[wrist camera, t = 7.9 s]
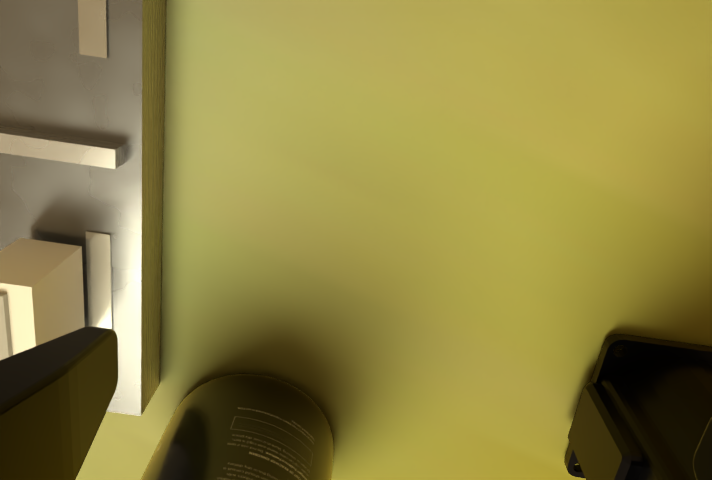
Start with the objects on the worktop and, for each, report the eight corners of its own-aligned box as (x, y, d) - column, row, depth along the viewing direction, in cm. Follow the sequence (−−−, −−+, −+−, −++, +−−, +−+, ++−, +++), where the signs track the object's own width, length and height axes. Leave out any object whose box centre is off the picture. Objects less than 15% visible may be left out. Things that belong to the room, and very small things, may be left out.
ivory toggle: (81, 246, 19) (27, 290, 16) (85, 341, 21) (35, 398, 18) (19, 237, 19) (-46, 280, 16) (27, 333, 21) (-32, 389, 18)
